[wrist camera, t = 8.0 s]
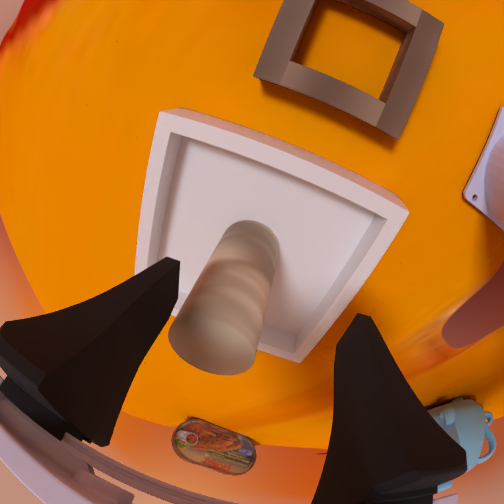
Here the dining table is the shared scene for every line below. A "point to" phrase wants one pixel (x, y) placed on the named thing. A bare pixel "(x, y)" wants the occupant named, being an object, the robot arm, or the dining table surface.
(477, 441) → the decorative pot
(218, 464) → the tin
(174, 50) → the dining table surface
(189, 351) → the dowel
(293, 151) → the tray
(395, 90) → the frame
